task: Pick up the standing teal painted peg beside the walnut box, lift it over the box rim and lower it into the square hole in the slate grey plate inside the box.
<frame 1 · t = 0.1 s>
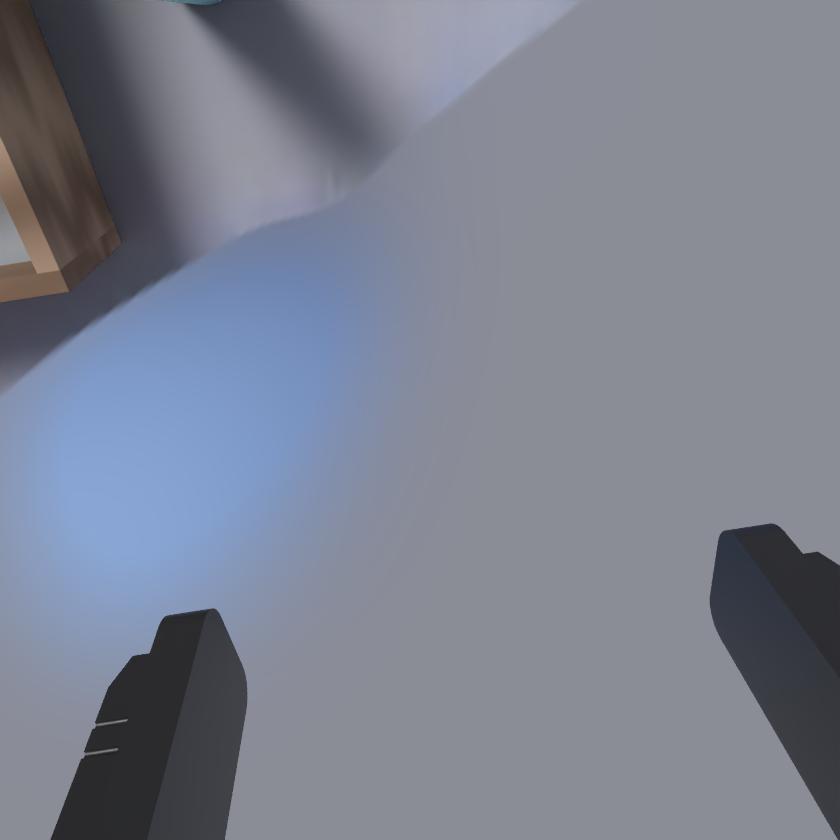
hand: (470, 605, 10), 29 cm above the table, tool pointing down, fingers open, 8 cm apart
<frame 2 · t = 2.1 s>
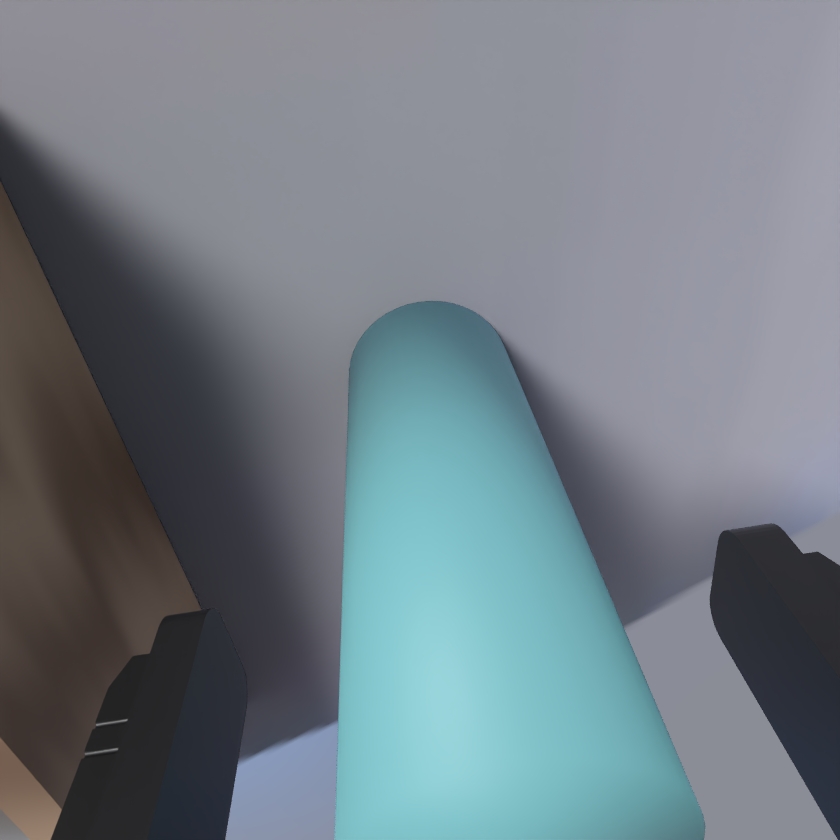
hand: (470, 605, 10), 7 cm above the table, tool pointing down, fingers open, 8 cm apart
peg: (429, 376, 16), on the table
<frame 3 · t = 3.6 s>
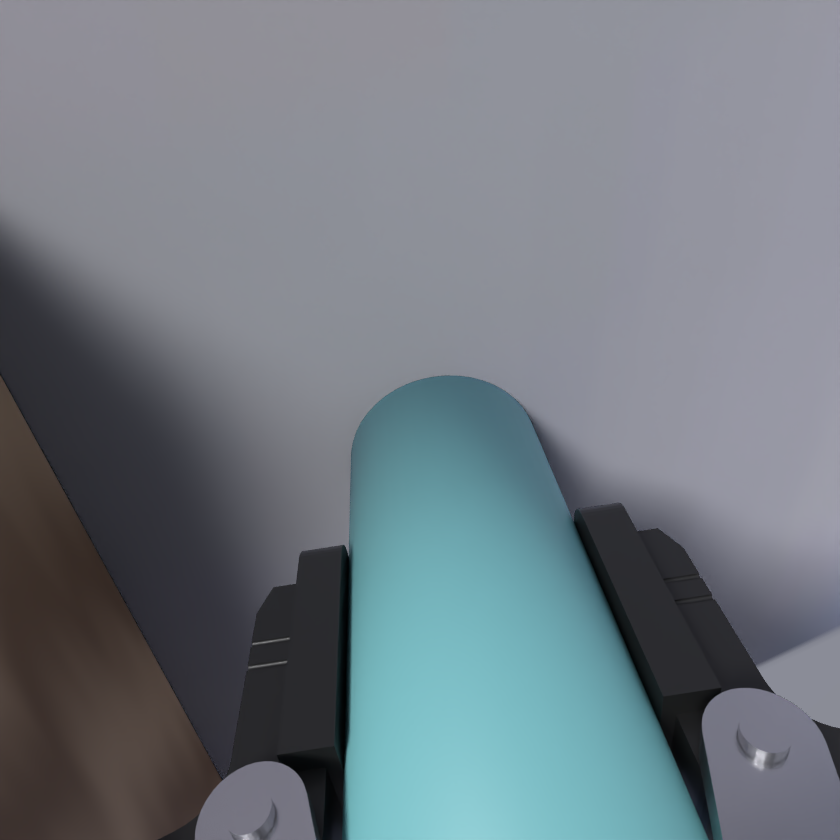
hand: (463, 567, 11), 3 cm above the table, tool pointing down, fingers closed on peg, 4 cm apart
peg: (444, 458, 14), on the table, touching gripper
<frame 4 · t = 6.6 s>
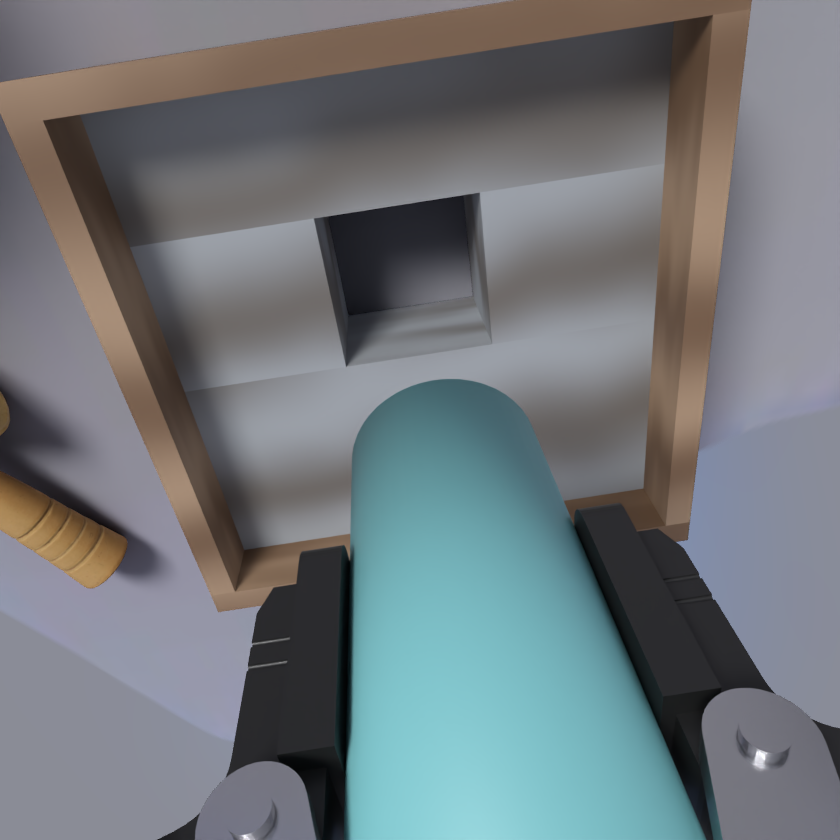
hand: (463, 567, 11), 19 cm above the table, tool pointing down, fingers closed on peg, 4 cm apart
peg: (444, 460, 14), point 16 cm above the table, touching gripper
bore box: (408, 289, 28), on the table
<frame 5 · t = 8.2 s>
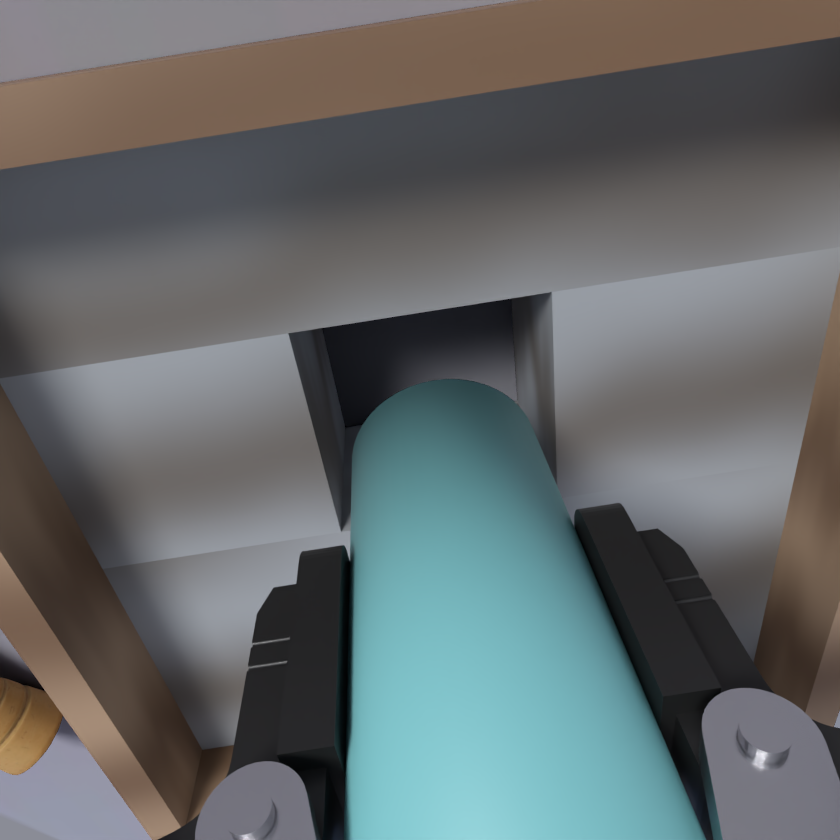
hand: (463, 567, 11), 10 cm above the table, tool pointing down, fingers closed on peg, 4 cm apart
peg: (444, 460, 14), point 6 cm above the table, touching gripper
bore box: (428, 392, 20), on the table
when the fingers open (6 cm above the table, at t = 9.6 s): peg drops 3 cm, resting in bore box.
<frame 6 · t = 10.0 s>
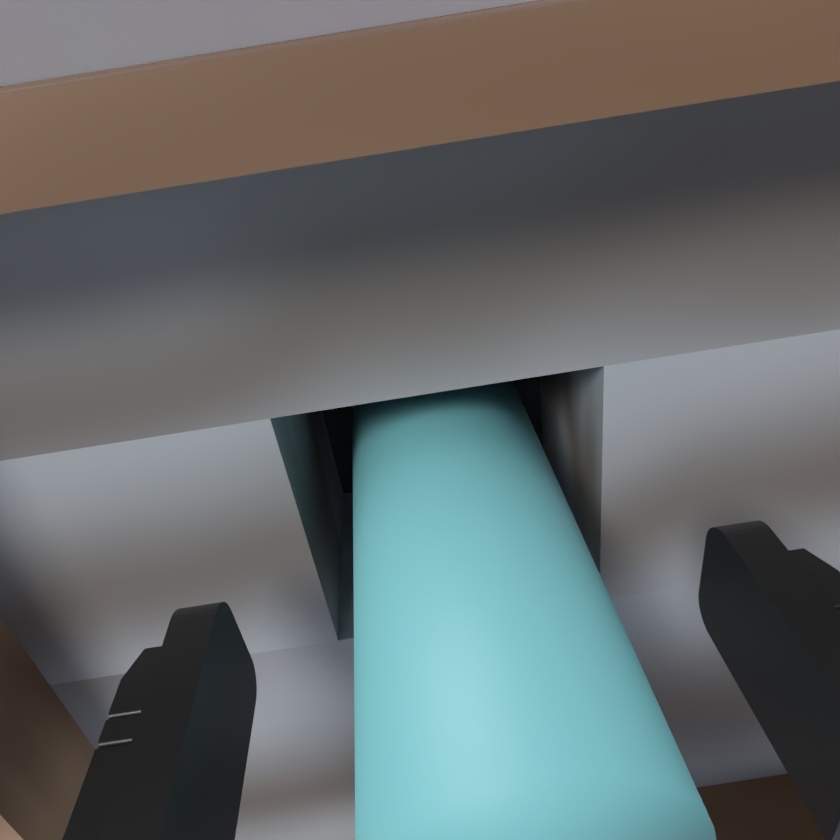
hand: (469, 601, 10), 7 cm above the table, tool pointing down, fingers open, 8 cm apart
peg: (430, 393, 16), resting in bore box
bore box: (439, 455, 17), on the table
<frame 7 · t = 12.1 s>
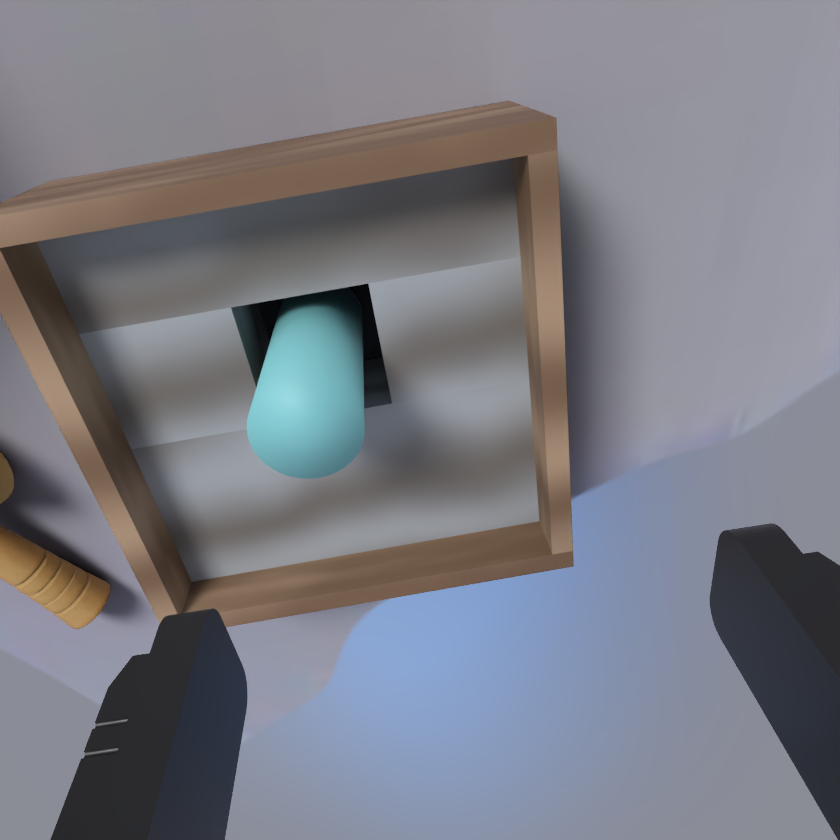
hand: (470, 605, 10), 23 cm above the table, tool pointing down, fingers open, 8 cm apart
peg: (321, 316, 32), resting in bore box
bore box: (330, 352, 33), on the table
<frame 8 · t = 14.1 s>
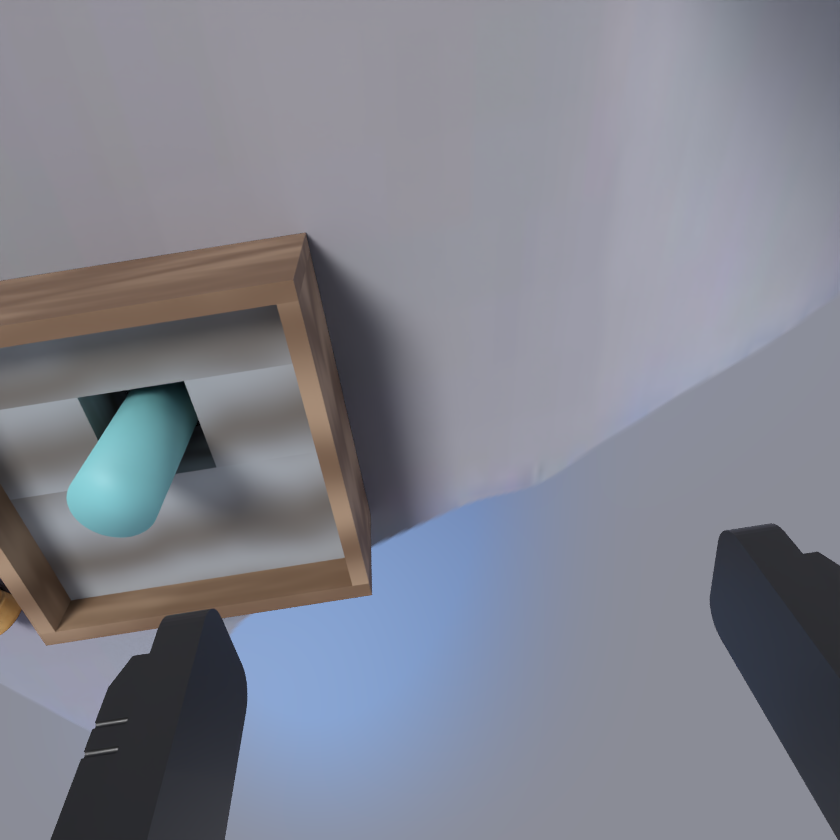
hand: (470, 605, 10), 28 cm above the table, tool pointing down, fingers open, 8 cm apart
peg: (173, 390, 39), resting in bore box
bore box: (183, 417, 40), on the table
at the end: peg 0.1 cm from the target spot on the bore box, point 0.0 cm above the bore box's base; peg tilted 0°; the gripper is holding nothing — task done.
